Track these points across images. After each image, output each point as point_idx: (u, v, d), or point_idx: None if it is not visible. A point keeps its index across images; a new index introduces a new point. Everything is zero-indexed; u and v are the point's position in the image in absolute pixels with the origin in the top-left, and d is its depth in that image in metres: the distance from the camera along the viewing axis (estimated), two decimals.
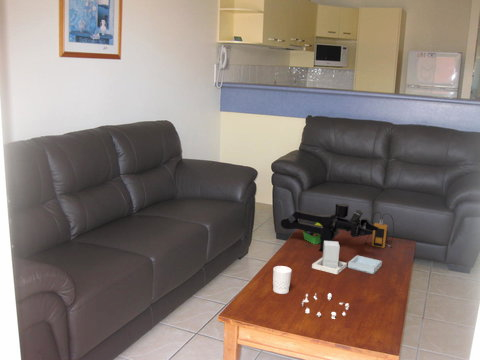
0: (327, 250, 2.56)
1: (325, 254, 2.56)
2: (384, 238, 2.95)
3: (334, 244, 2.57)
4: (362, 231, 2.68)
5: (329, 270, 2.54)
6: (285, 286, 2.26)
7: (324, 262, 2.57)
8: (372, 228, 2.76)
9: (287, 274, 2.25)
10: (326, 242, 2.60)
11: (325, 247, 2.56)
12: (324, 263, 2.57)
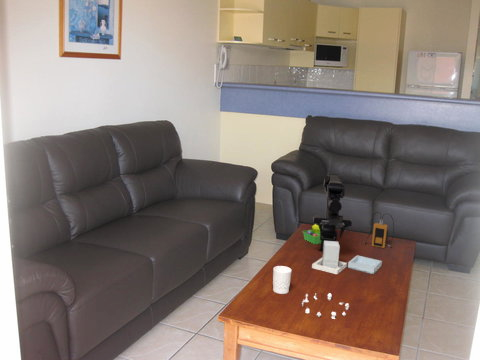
0: (327, 250, 2.56)
1: (325, 254, 2.56)
2: (384, 238, 2.95)
3: (334, 244, 2.57)
4: None
5: (329, 270, 2.54)
6: (285, 286, 2.26)
7: (324, 262, 2.57)
8: (340, 231, 2.66)
9: (287, 274, 2.25)
10: (326, 242, 2.60)
11: (325, 247, 2.56)
12: (324, 263, 2.57)
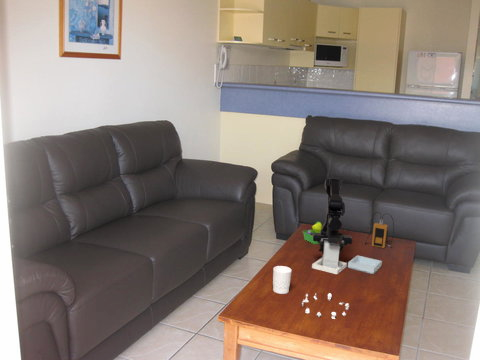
0: (327, 250, 2.56)
1: (325, 254, 2.56)
2: (384, 238, 2.95)
3: (334, 244, 2.57)
4: None
5: (329, 270, 2.54)
6: (285, 286, 2.26)
7: (324, 262, 2.57)
8: None
9: (287, 274, 2.25)
10: (326, 242, 2.60)
11: (325, 247, 2.56)
12: (324, 263, 2.57)
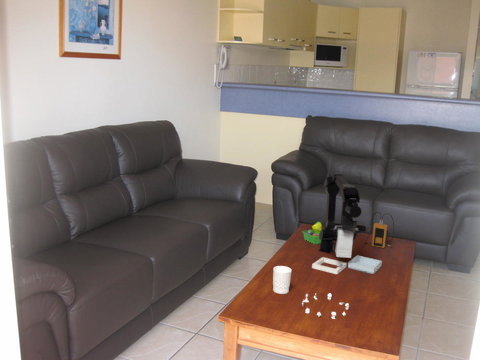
0: (341, 237, 2.56)
1: (339, 241, 2.56)
2: (384, 238, 2.95)
3: (348, 232, 2.57)
4: None
5: (329, 270, 2.54)
6: (285, 286, 2.26)
7: (338, 249, 2.57)
8: None
9: (287, 274, 2.25)
10: (339, 229, 2.60)
11: (339, 234, 2.56)
12: (338, 250, 2.57)
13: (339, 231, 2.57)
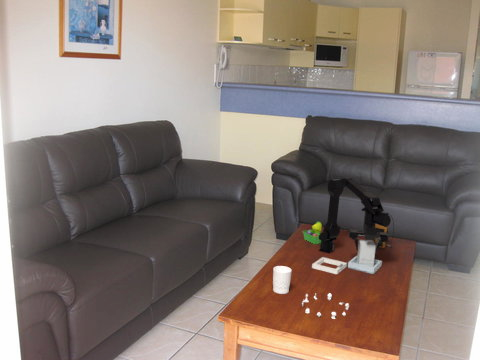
0: (363, 249, 2.59)
1: (361, 253, 2.59)
2: None
3: (370, 243, 2.60)
4: None
5: (329, 270, 2.54)
6: (285, 286, 2.26)
7: (360, 261, 2.60)
8: (376, 245, 2.62)
9: (287, 274, 2.25)
10: (361, 241, 2.63)
11: (361, 246, 2.59)
12: (360, 262, 2.60)
13: (361, 242, 2.60)
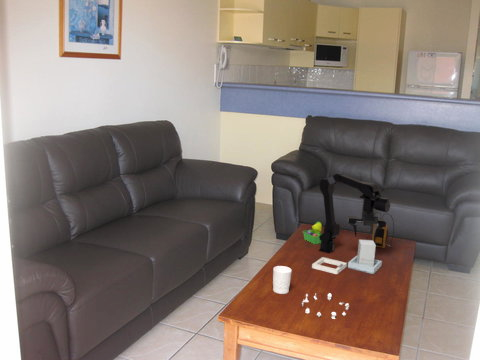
0: (363, 249, 2.59)
1: (361, 253, 2.59)
2: (384, 238, 2.95)
3: (370, 243, 2.60)
4: None
5: (329, 270, 2.54)
6: (285, 286, 2.26)
7: (360, 261, 2.60)
8: (374, 232, 2.69)
9: (287, 274, 2.25)
10: (361, 241, 2.63)
11: (361, 246, 2.59)
12: (360, 262, 2.60)
13: (361, 242, 2.60)
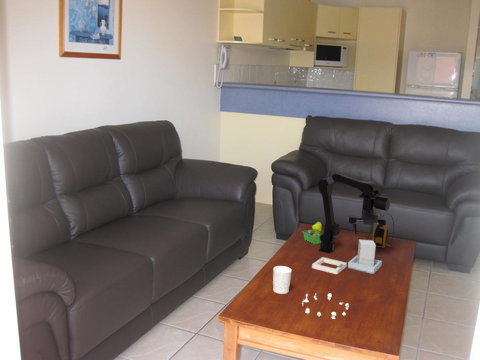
0: (363, 249, 2.59)
1: (361, 253, 2.59)
2: (384, 238, 2.95)
3: (370, 243, 2.60)
4: None
5: (329, 270, 2.54)
6: (285, 286, 2.26)
7: (360, 261, 2.60)
8: (374, 230, 2.71)
9: (287, 274, 2.25)
10: (361, 241, 2.63)
11: (361, 246, 2.59)
12: (360, 262, 2.60)
13: (361, 242, 2.60)
